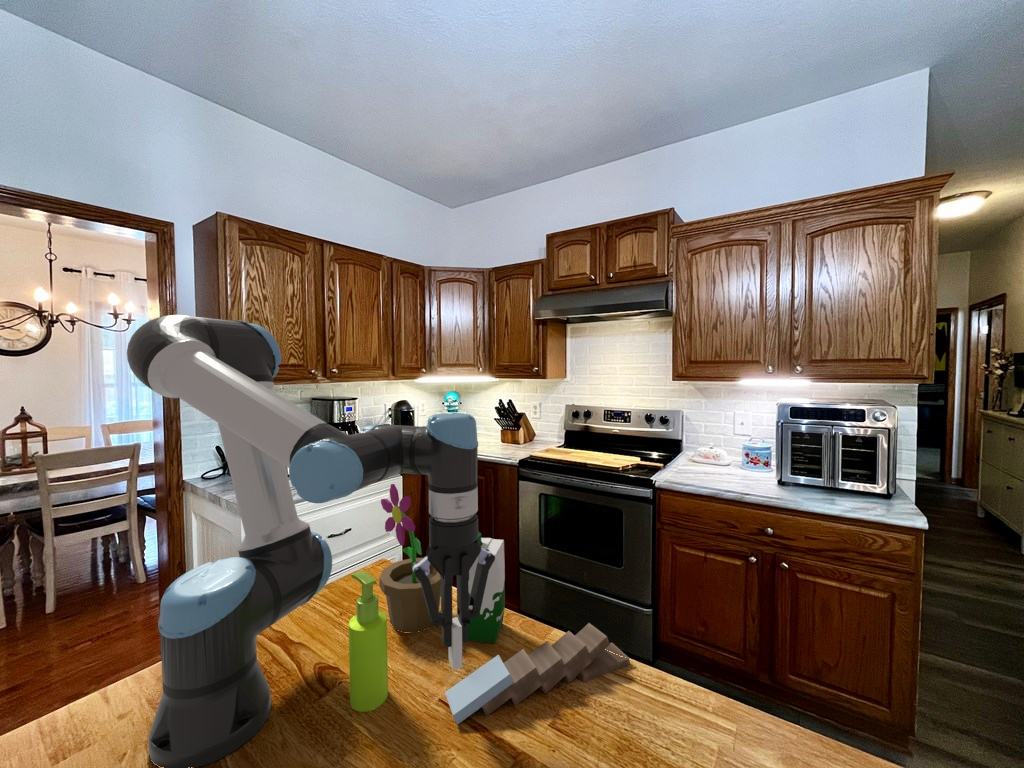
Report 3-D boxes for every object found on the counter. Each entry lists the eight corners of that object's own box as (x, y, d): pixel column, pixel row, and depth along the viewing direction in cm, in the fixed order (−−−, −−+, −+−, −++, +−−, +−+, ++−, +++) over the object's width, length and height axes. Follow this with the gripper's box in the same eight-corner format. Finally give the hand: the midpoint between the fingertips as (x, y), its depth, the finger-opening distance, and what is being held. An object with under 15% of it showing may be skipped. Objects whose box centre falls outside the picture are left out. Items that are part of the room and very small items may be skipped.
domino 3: (511, 697, 68) (561, 658, 72) (499, 676, 73) (547, 640, 76) (515, 706, 68) (565, 666, 72) (502, 685, 73) (550, 648, 77)
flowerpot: (367, 620, 92) (364, 482, 91) (422, 593, 103) (420, 469, 101) (405, 649, 82) (402, 495, 81) (461, 617, 93) (460, 480, 92)
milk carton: (467, 616, 93) (466, 525, 92) (508, 621, 91) (507, 528, 90) (454, 642, 84) (453, 542, 84) (499, 647, 83) (498, 545, 82)
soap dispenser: (374, 676, 75) (372, 564, 74) (394, 697, 70) (392, 578, 70) (341, 694, 71) (339, 575, 70) (360, 718, 66) (357, 591, 65)
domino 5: (565, 675, 73) (606, 636, 77) (549, 658, 77) (589, 622, 82) (569, 683, 73) (609, 644, 78) (552, 666, 77) (591, 630, 82)
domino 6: (583, 675, 73) (629, 658, 78) (567, 657, 78) (612, 642, 82) (583, 685, 74) (629, 668, 78) (567, 667, 78) (612, 651, 82)
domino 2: (482, 707, 66) (536, 667, 70) (472, 685, 71) (523, 648, 74) (486, 716, 66) (539, 676, 70) (476, 693, 71) (526, 657, 74)
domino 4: (541, 685, 70) (585, 645, 75) (526, 667, 75) (568, 630, 79) (545, 694, 71) (589, 653, 75) (529, 676, 75) (571, 638, 79)
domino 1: (452, 715, 64) (509, 674, 68) (444, 692, 69) (498, 654, 73) (457, 724, 65) (513, 683, 68) (449, 701, 69) (502, 663, 73)
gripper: (415, 529, 60) (417, 692, 61) (501, 516, 65) (502, 667, 66) (406, 512, 67) (409, 659, 68) (485, 502, 72) (486, 639, 73)
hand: (455, 663), depth 67 cm, fingers closed
